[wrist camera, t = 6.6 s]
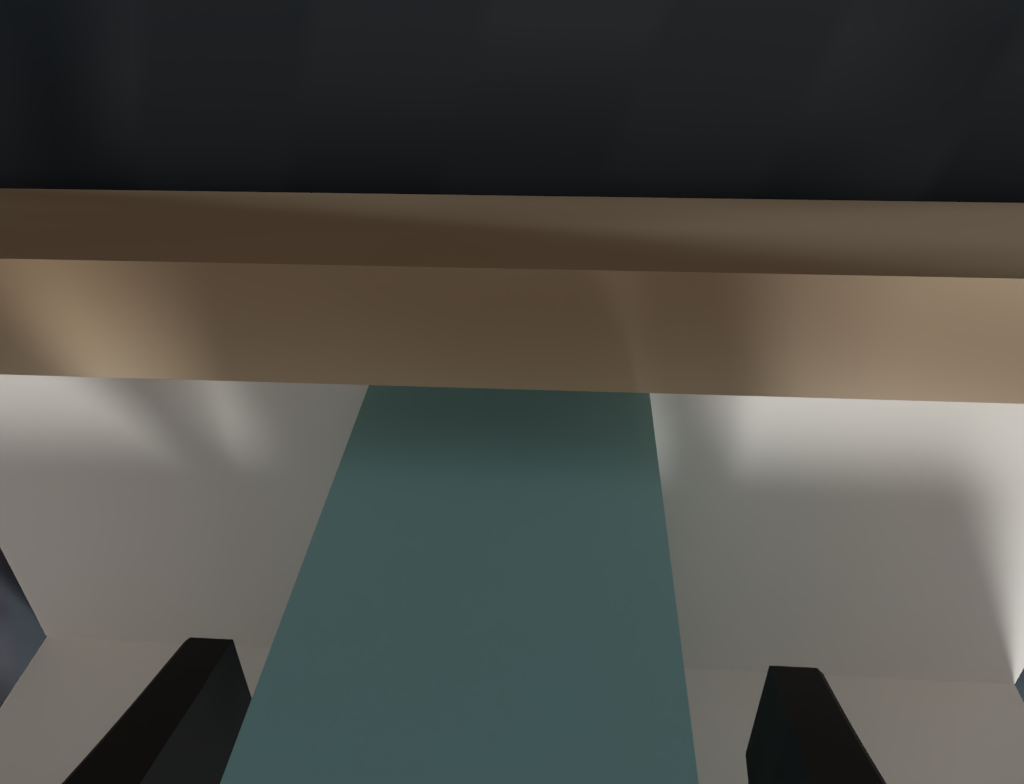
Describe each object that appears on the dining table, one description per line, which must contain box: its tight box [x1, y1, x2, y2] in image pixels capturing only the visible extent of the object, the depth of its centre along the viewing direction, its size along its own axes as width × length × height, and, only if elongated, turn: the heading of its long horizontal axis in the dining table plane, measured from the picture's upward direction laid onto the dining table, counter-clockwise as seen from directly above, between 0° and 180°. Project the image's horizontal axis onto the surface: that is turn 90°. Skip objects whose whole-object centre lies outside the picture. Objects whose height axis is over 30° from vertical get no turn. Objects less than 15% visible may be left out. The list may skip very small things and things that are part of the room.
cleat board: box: [0, 188, 1024, 784], centre depth 11 cm, size 11×18×6 cm, turn 91°
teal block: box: [220, 385, 699, 784], centre depth 11 cm, size 6×4×6 cm, turn 1°
